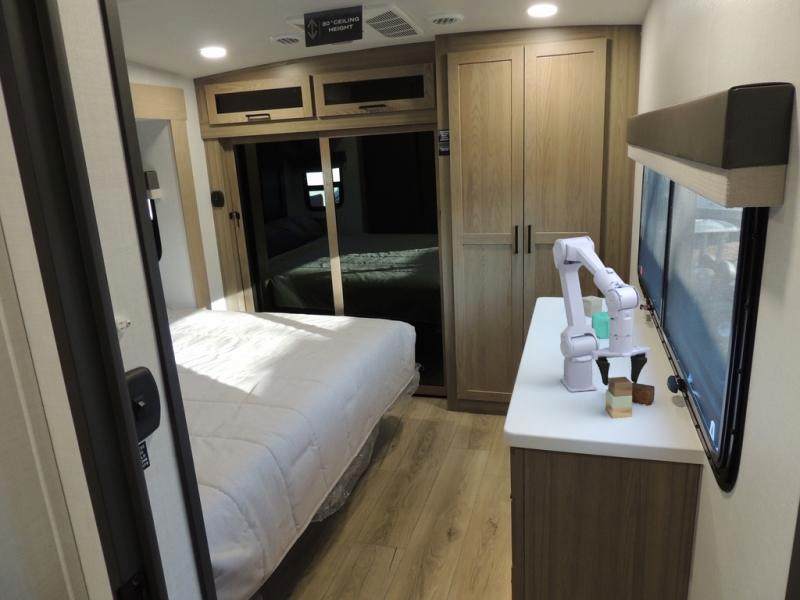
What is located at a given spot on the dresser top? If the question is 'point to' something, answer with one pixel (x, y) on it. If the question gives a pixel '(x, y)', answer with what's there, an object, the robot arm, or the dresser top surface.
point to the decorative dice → (601, 324)
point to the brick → (642, 393)
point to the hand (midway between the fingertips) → (619, 382)
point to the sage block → (618, 400)
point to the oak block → (619, 411)
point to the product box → (592, 305)
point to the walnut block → (620, 386)
